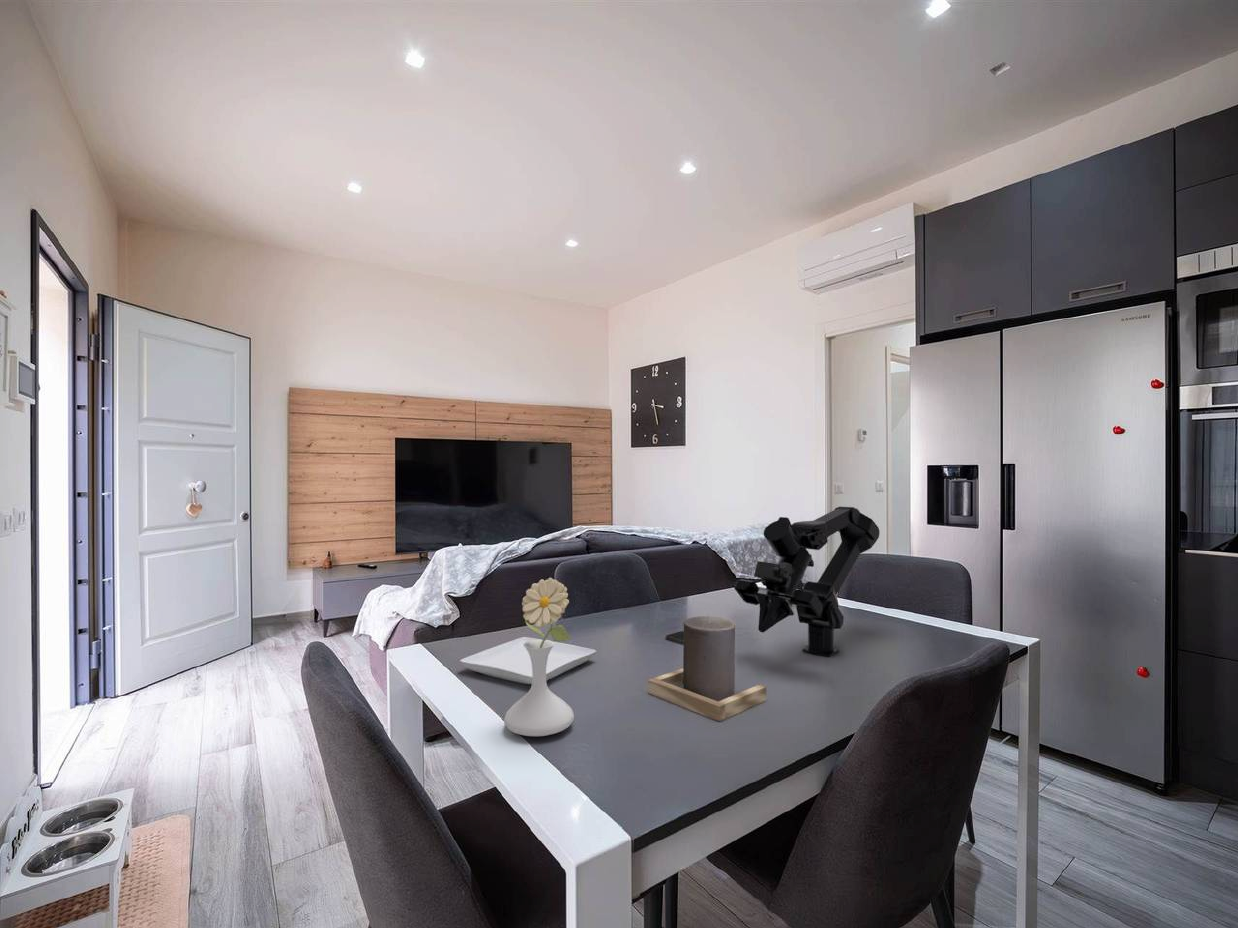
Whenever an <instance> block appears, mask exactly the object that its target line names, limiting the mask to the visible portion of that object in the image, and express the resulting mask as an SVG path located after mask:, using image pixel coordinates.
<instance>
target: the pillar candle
mask: <svg viewBox="0 0 1238 928" xmlns="http://www.w3.org/2000/svg"><path fill="white" fill-rule="evenodd" d="M736 627H737V626H736V623H735V622H733V621H732V620H730V619H728V618H723V617H720V616H719V617H718V616H710V615H701V616H693V617H688V618H686V619H684V621H683V631H684V645H683V649H682V650H683V656H682V657H683V660H682V661H683V666H682V667H683V684H684V685H682V686H683V689H685V690H688V691H690V692H693V693H696V694H699V695H701V696H704V697H707V698H709V699H712V700H715V701H717V702H719V701H721V700H723V699H726V698H728V697H731V696H733V695H735V692H736V691H735V689H736V688H735V684H736V681H735V678H736V677H735V675H736V673H735V672H736Z"/></svg>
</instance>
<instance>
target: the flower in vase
mask: <svg viewBox="0 0 1238 928" xmlns="http://www.w3.org/2000/svg"><path fill="white" fill-rule="evenodd" d="M567 591H568V588H567V586H565V585H564V584H563V583H561V582H559V580H557V579H553V578H552V577H549V578H547V579H545V580H544V579H543V578H542V579H540V580H539V582H537V583H532V584H531V587H530V588H528V589H526V591H525V594H526V595H525V596H524V597H523V598H522V602H521V606H522V611H523V615H522V617H523V618H524V620H525V624H526V626H527V627H528V628H529V629H530V630H531V631H532V632H534V633H535V634H538V635H539V636H541V637H543V639H541V640H532V641H528V642H526V643H524V647H525V648H526V649H527V651H528V653H529V655H530V658H531V663H532V685H531V687H530V688H529V690H528V692H527V693H526V694H524V696H522V697H521V698H519V699H518V700H517V701H516V702H515V703H513V705H511V707H510V708H509V709H508V710H507V711H506V713H505V716H504V720H503V722H504V725H505V726H506V728H507V730H509V731H511V732H512V733H515V734H517V735H519V736H520V735H521V736H525V737H545V736H550V735H554V734H558V733H560V732H563V731H564V730H566V729H567V728H568V727H570V726H571V724H572V723H573V721H574V719H575V715H574V714H575V713H574V711H573V709H572V707H571V706H569V704H568V703H567V702H565V700H563V699H562V698H560V697H559V696H558V695H556V694H554V692H552V691H551V690H550V688H549V687H548V683H547V681H546V666H547V660H548V656H549V653H550V651H551V649H552V647H553V646H554V644H555V643H554V642H559V643H560V642H564V641H565V642H566V641H569V640H571V638H570V636H569V634H568V632H567V630H566V629H565V627H564V625H562V624H559V625H556V626H553V625H554V623H556V622H557V621H558V620H560V619H561V616H562V615H561V614H564V613H565V611H566V608H567V606H568V604H569V603H570V601H569V599H567V598H568V596H569V593H568V592H567ZM531 624H533V625H534V626H535V627H534V626H533V625H531ZM548 624H550V627H549V629H548V631H547V632H546V634H544V633H543V632H542V630H540V629H538V628H540V627H543V628H544V627H545V626H547V625H548ZM549 635H551V637H552V639H553V641H552V640H549V639H547V638H548V636H549Z"/></svg>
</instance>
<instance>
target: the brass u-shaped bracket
mask: <svg viewBox="0 0 1238 928" xmlns="http://www.w3.org/2000/svg"><path fill="white" fill-rule="evenodd" d="M647 680H648V681H647V683H648V685H647V686H648V687H647V688H648V691H647V694H650V695H653V697H656V698H659V699H662V700H664V701H667V702H670V703H671V704H673V705H676V706H678V707H679V706H680V707H683V708H684V709H688V710H690V711H691V712H694V713H697V714H699V715H702V716H704V717H707V718H709V719H712V720H715V721H717V722H721V721H724V720H727V719H729V718H730V717H732V716H735V715H737V714H739V713H741V712H744V711H747V710H748V709H752V708H753V707H755V706H757V705H760V704H762V703H764V702H766V701H767V686H765V685H762V684H757V685H756V686H753V687H750V688H748V689H745V690H743V691H740V692H738V693H736V694H735V693H734V695H733V696H731V697H728V698H726V699H723V700H721V701H719V702H717V701H715V700H712V699H709V698H707V697H704V696H701V695H699V694H696V693H693V692H690V691H688V690H685V689H684V688H682V687H681V686H683V685H684V684H683V668H679V669H676V670H674V671H671V672H667V673H665V674H662V675H658V676H655V677H652V678H650V679H647Z"/></svg>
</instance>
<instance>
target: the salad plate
mask: <svg viewBox="0 0 1238 928" xmlns="http://www.w3.org/2000/svg"><path fill="white" fill-rule="evenodd" d="M532 640H542V639H539V638H535V637H528V636H523V637H519V638H516V639H513V640H510V641H508V642H504V643H502V644H499V645H496V646H494V647H491V648H487V649H485V650H482V651H479V652H477V653H475V654H471V655H469V656H466V657H464V658H462V659H460V660H459V661H460V664H461V665H462V666H464V668H466V669H468V670H470V671H473V672H477V673H481V674H483V675H486V676H489V677H494V678H498V679H501V680H506V681H511V682H513V683H514V682H515V683H520V684H522V685H523V684H524V685H531V686H532V663H531V658H530V655H529V653H528V651H527V649H526V648H525V647H524V643H526V642H528V641H532ZM553 642H554V643H555V644H554V646H553V647H552V649H551V651H550V653H549V656H548V660H547V666H546V682H547V681H549V679H550V680H551V679H554V678H556V677H558V676H559V675H562V674H564V673H566V672H567V671H570V670H571V669H574V668H575V667H577V666H579V665H582V664H584V663H586V662H587V661H589V660H591V658H593V657H594V655H595V654H596V653H597V650H596V649H593V648H589V647H583V646H578V645H573V644H569V643H565V642H564V643H563V642H560V641H559V642H556V641H553Z"/></svg>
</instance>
